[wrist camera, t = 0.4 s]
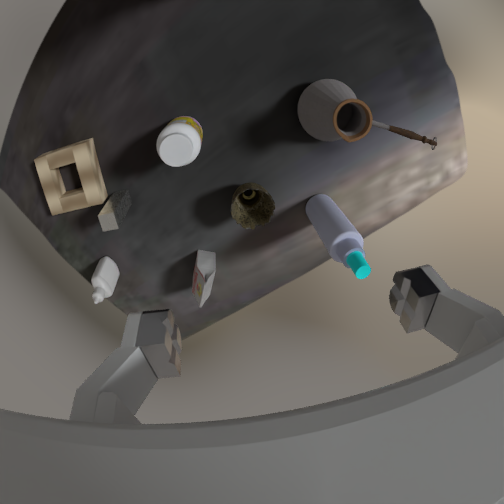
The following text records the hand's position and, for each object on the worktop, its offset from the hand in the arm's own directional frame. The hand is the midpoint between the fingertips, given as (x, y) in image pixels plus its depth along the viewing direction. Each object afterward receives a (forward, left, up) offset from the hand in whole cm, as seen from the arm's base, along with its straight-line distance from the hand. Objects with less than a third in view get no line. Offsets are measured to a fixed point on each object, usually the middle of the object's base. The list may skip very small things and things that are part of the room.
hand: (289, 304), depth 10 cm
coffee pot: (+1, +22, -46) cm, 51 cm away
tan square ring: (+5, -31, -46) cm, 56 cm away
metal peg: (+12, -22, -46) cm, 52 cm away
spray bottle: (+20, +16, -46) cm, 53 cm away
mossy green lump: (+15, +2, -46) cm, 49 cm away
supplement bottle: (+2, -8, -46) cm, 47 cm away
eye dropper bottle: (+27, -30, -46) cm, 61 cm away
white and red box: (+30, -9, -46) cm, 56 cm away
